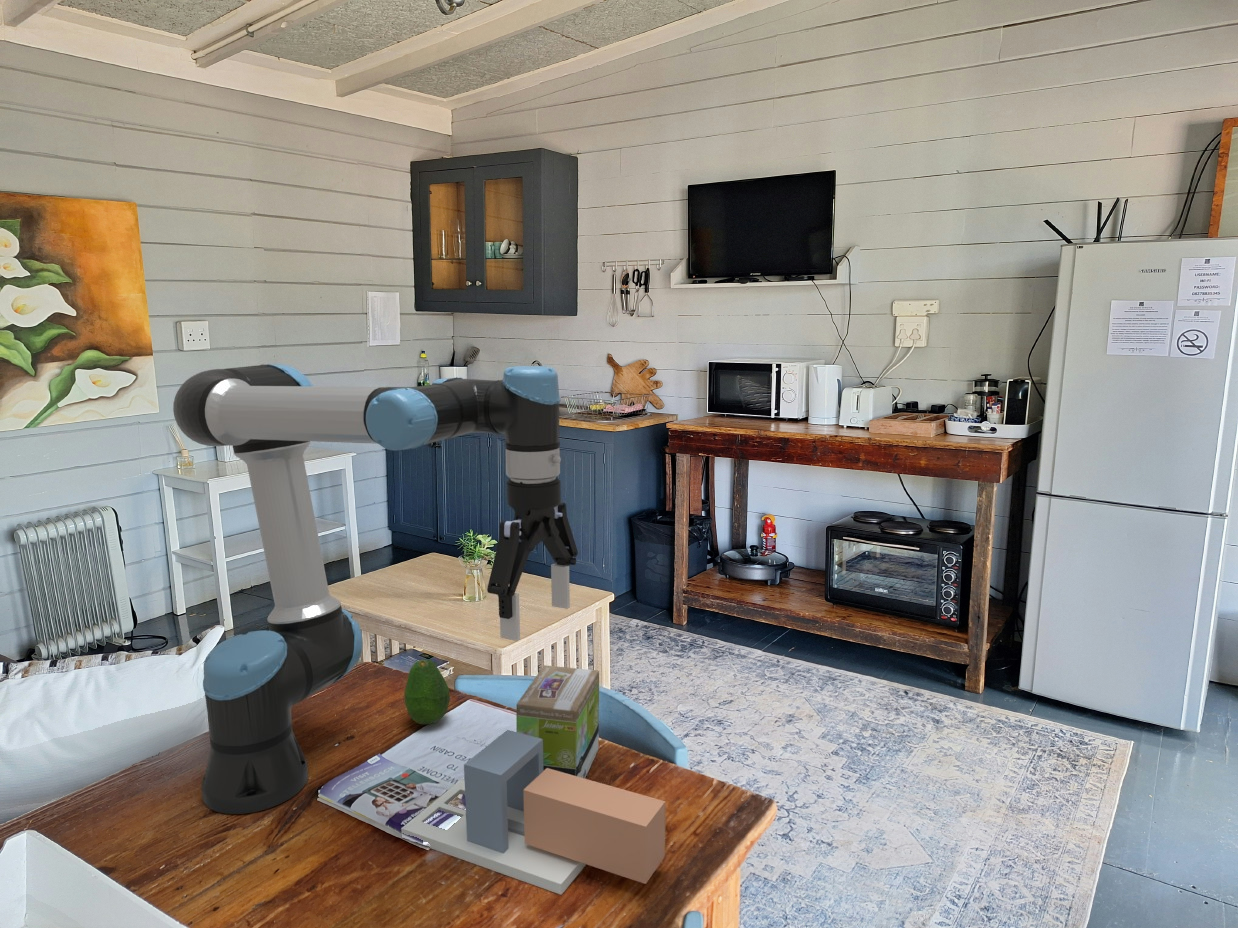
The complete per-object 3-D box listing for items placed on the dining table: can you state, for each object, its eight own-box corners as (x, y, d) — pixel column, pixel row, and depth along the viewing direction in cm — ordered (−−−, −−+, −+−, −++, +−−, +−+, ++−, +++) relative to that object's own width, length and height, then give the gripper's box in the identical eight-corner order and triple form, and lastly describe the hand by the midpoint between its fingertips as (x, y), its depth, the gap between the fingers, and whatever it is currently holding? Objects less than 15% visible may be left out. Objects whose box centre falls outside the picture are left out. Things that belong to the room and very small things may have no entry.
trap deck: (401, 837, 118) (396, 753, 116) (462, 787, 130) (459, 709, 128) (561, 894, 107) (559, 801, 104) (611, 833, 119) (611, 749, 116)
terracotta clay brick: (524, 843, 113) (523, 789, 112) (547, 819, 119) (546, 767, 117) (645, 883, 105) (646, 826, 104) (664, 856, 111) (665, 801, 109)
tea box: (578, 800, 127) (577, 709, 124) (515, 792, 129) (512, 703, 126) (600, 749, 141) (599, 667, 139) (543, 743, 143) (541, 662, 141)
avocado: (396, 724, 150) (393, 662, 147) (430, 707, 156) (427, 647, 154) (427, 738, 145) (424, 673, 143) (460, 720, 151) (458, 657, 149)
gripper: (505, 498, 104) (509, 658, 108) (599, 464, 126) (600, 598, 130) (456, 493, 108) (462, 648, 112) (556, 460, 130) (558, 591, 134)
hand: (536, 622), depth 121 cm, fingers open, 13 cm apart
